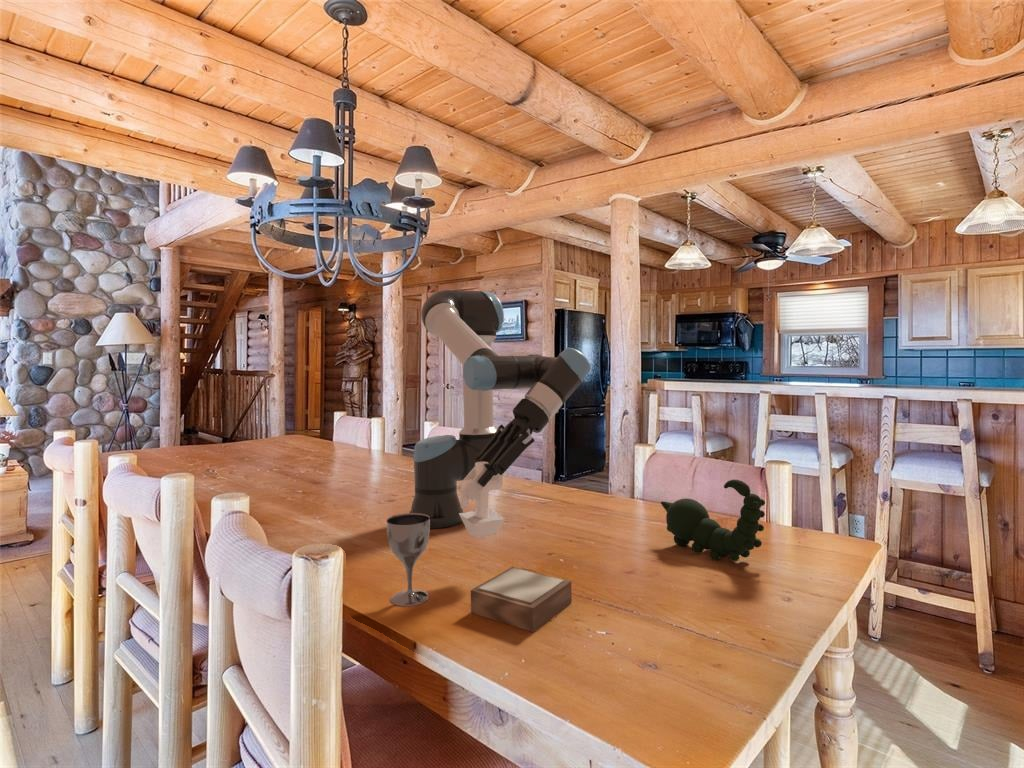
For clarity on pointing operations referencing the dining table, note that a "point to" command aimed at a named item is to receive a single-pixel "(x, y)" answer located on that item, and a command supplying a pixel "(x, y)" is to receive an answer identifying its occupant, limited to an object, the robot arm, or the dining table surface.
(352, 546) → the dining table surface
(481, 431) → the robot arm
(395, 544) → the wine glass
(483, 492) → the figurine
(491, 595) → the walnut pedestal
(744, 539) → the toy figurine
